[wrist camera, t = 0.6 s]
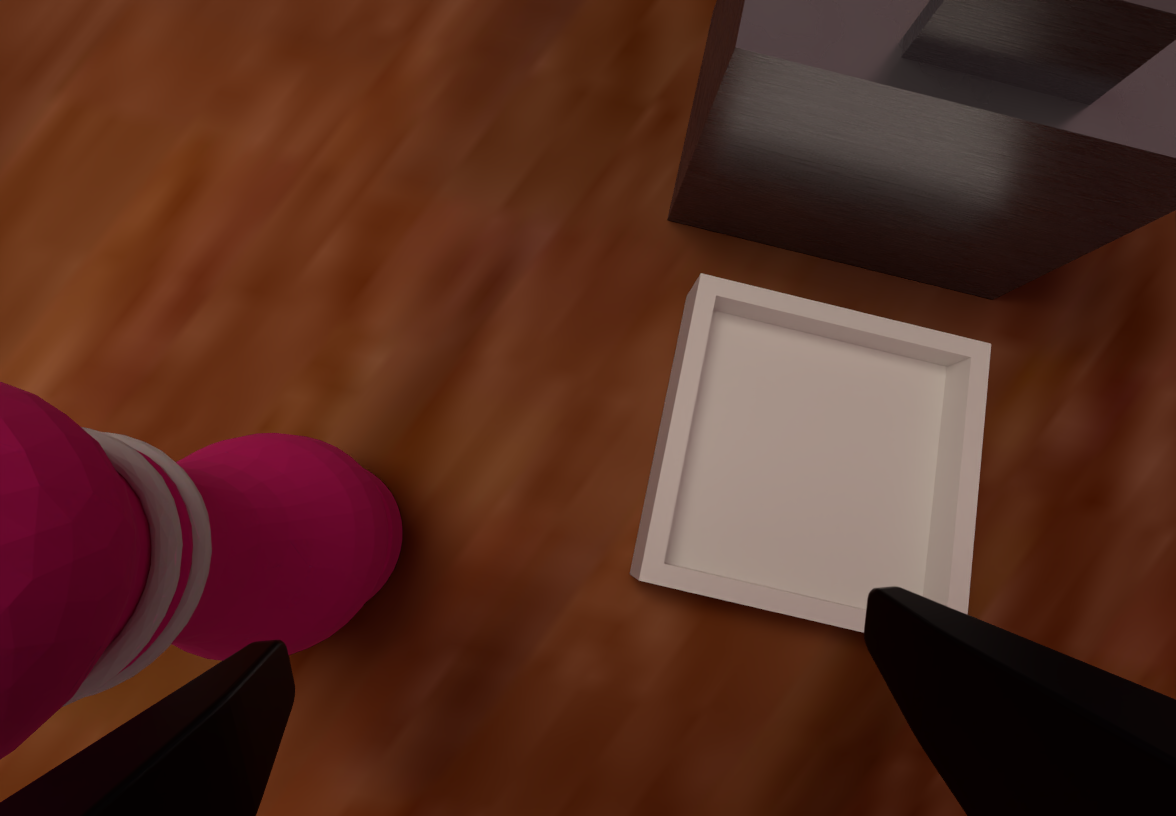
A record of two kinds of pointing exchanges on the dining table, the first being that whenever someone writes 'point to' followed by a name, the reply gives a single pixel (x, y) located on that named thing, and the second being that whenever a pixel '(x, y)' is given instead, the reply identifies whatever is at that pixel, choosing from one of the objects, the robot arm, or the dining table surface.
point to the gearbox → (934, 132)
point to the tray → (813, 457)
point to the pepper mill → (169, 552)
